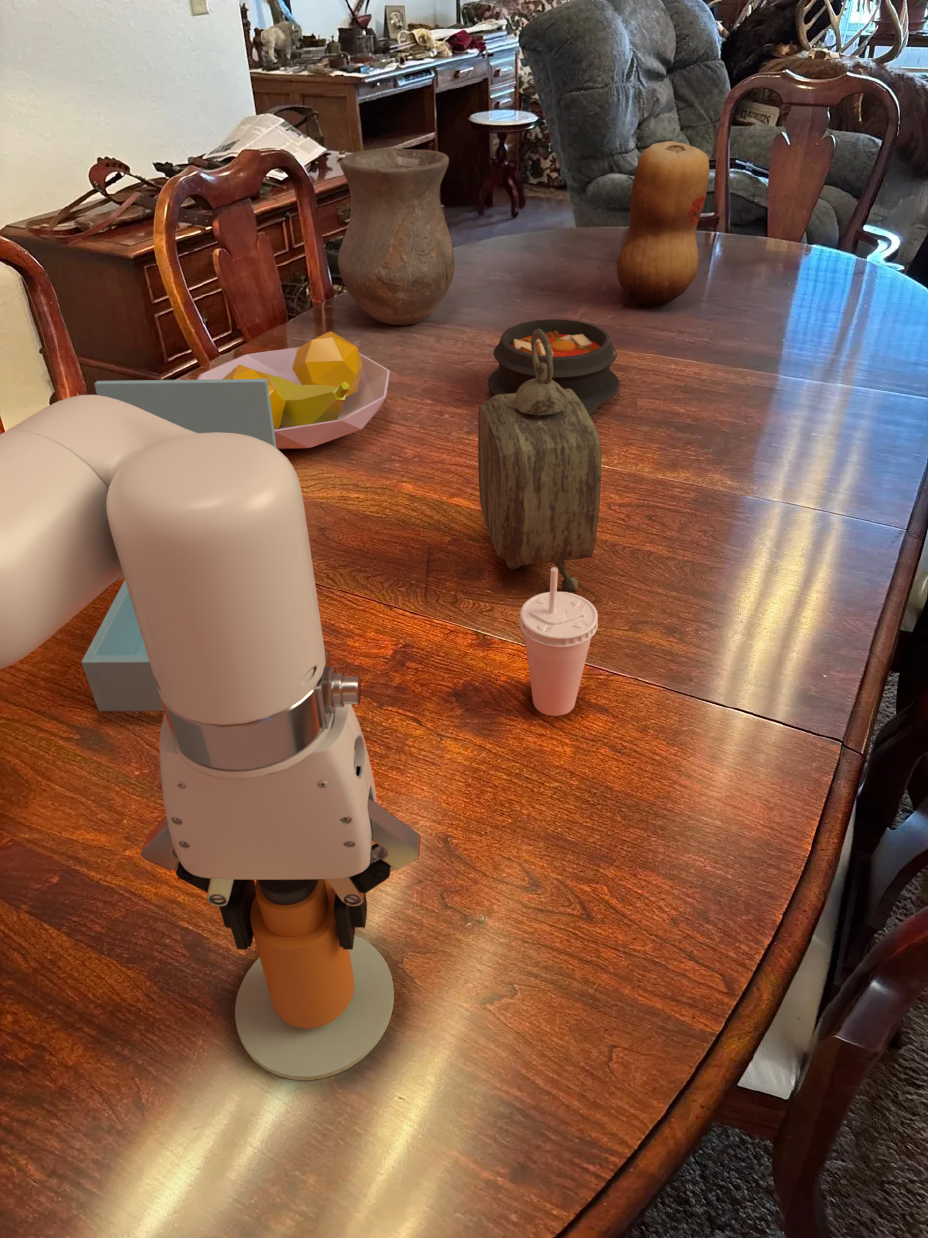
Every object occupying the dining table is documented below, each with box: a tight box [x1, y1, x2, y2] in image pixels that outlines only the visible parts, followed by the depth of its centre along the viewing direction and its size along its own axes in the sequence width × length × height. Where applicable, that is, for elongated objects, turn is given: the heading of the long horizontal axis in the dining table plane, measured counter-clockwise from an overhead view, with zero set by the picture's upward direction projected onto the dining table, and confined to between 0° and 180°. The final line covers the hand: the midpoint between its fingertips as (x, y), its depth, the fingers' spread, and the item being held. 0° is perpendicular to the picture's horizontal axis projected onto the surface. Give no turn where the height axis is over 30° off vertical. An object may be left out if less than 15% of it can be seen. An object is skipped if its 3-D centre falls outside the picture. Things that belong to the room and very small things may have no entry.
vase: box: [337, 147, 456, 326], centre depth 149 cm, size 20×19×25 cm
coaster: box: [234, 934, 395, 1081], centre depth 59 cm, size 10×10×1 cm
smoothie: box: [518, 566, 599, 717], centre depth 76 cm, size 6×6×14 cm
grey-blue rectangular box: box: [80, 579, 164, 712], centre depth 84 cm, size 16×15×6 cm
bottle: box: [250, 879, 354, 1028], centre depth 54 cm, size 5×5×12 cm
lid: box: [93, 379, 276, 447], centre depth 85 cm, size 17×15×5 cm
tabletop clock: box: [477, 329, 602, 593], centre depth 90 cm, size 14×9×25 cm, turn 9°
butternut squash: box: [616, 140, 710, 306], centre depth 153 cm, size 14×13×25 cm
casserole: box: [487, 318, 621, 417], centre depth 129 cm, size 25×19×8 cm
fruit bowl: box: [196, 330, 391, 450], centre depth 120 cm, size 28×27×11 cm
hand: (299, 925), depth 54 cm, fingers closed on bottle, 5 cm apart
